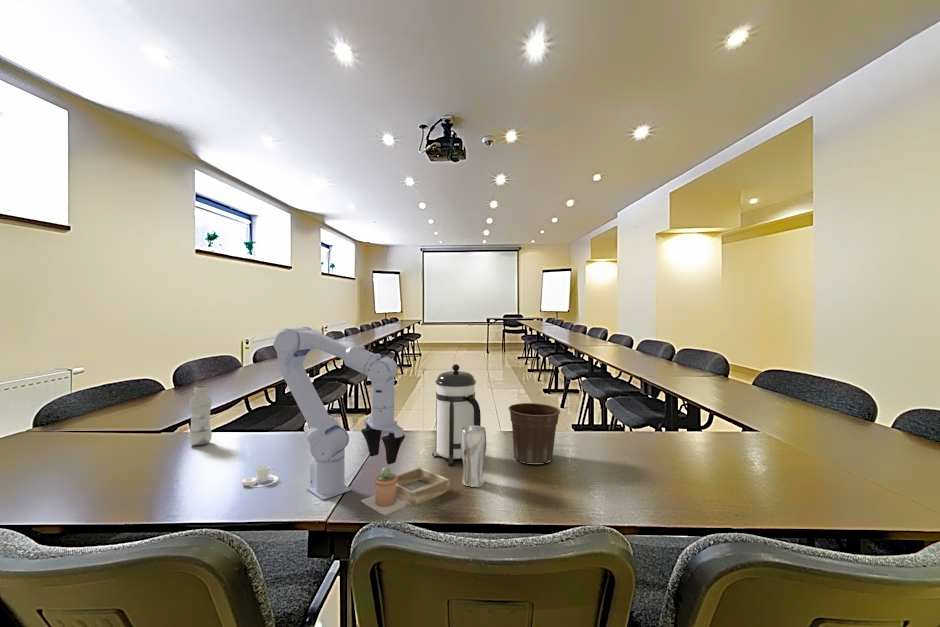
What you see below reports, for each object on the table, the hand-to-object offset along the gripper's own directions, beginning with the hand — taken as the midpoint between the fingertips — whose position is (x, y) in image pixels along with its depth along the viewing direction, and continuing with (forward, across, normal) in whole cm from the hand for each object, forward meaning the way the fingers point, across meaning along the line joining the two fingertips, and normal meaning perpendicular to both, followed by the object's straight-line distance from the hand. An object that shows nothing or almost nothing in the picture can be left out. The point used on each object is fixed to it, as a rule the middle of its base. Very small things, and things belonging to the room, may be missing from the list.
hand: (382, 459), depth 106 cm
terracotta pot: (+9, -4, +2) cm, 10 cm away
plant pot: (+10, -12, -49) cm, 51 cm away
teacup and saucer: (+10, +33, +19) cm, 40 cm away
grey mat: (+9, -4, +2) cm, 11 cm away
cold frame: (+9, -4, -8) cm, 13 cm away
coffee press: (+10, +5, -32) cm, 34 cm away
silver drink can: (+10, -11, -22) cm, 26 cm away
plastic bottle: (+10, +77, +22) cm, 81 cm away
